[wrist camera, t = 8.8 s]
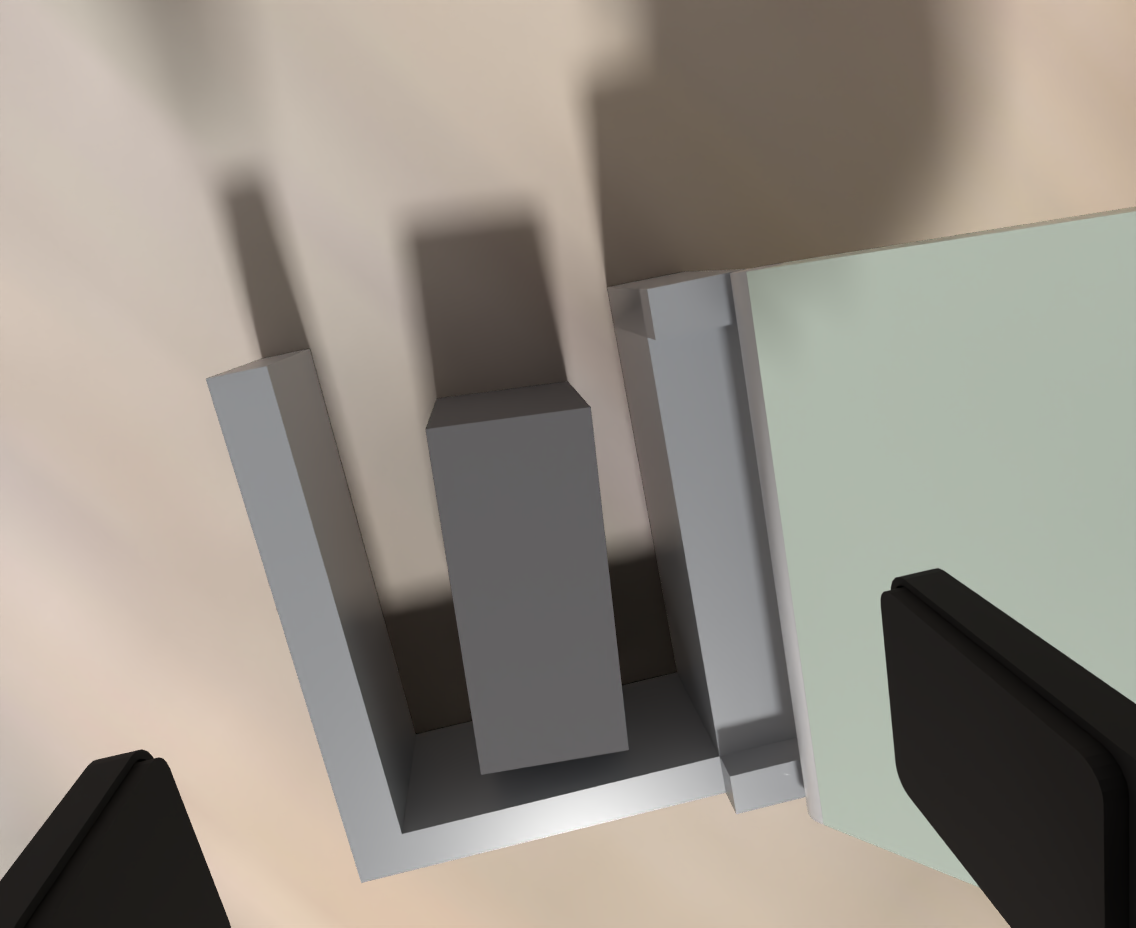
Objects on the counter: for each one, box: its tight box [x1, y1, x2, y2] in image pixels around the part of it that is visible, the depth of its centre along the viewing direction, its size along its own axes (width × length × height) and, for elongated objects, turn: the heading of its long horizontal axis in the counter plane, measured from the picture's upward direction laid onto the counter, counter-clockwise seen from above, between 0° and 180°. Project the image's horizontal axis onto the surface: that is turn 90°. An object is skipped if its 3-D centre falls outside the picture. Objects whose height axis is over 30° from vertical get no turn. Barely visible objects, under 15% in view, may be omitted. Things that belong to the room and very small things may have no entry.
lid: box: [730, 207, 1136, 887], centre depth 13 cm, size 12×11×1 cm
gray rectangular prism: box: [426, 381, 629, 775], centre depth 20 cm, size 8×3×5 cm, turn 7°
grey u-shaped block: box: [206, 269, 806, 883], centre depth 19 cm, size 12×11×5 cm
